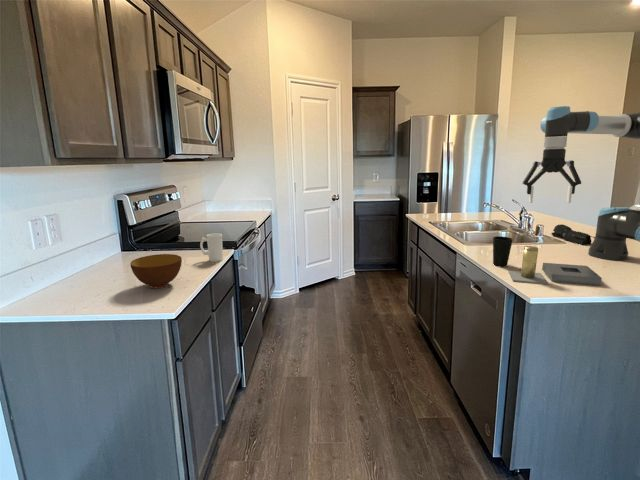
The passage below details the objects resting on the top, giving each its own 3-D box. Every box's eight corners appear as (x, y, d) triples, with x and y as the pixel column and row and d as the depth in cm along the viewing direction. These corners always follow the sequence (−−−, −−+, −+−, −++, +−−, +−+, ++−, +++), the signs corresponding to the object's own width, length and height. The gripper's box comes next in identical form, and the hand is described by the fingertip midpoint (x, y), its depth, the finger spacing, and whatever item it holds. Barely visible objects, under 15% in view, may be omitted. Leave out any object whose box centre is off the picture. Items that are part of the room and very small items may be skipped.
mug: (224, 257, 184) (222, 233, 181) (222, 261, 177) (221, 236, 174) (202, 258, 182) (200, 233, 180) (200, 262, 176) (198, 237, 173)
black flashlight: (583, 247, 201) (586, 232, 199) (546, 236, 225) (548, 222, 222) (594, 247, 202) (597, 231, 200) (556, 235, 226) (559, 221, 224)
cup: (487, 262, 173) (489, 236, 170) (503, 262, 173) (506, 236, 171) (496, 267, 165) (499, 240, 162) (513, 267, 166) (516, 240, 163)
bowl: (122, 290, 141) (119, 264, 139) (158, 276, 157) (155, 252, 155) (160, 296, 135) (157, 269, 133) (193, 281, 151) (191, 256, 149)
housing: (586, 272, 158) (587, 265, 157) (600, 285, 143) (601, 278, 142) (542, 269, 163) (542, 262, 162) (551, 281, 148) (552, 274, 147)
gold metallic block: (533, 275, 153) (536, 246, 151) (535, 279, 149) (539, 249, 146) (519, 274, 155) (523, 245, 152) (522, 277, 150) (525, 248, 148)
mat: (541, 274, 156) (541, 273, 156) (548, 284, 145) (548, 283, 145) (508, 272, 159) (508, 270, 159) (513, 281, 148) (513, 280, 148)
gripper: (587, 146, 151) (581, 201, 156) (517, 149, 158) (513, 200, 163) (595, 147, 144) (588, 203, 149) (521, 149, 151) (517, 203, 156)
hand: (549, 202), depth 156 cm, fingers open, 13 cm apart
